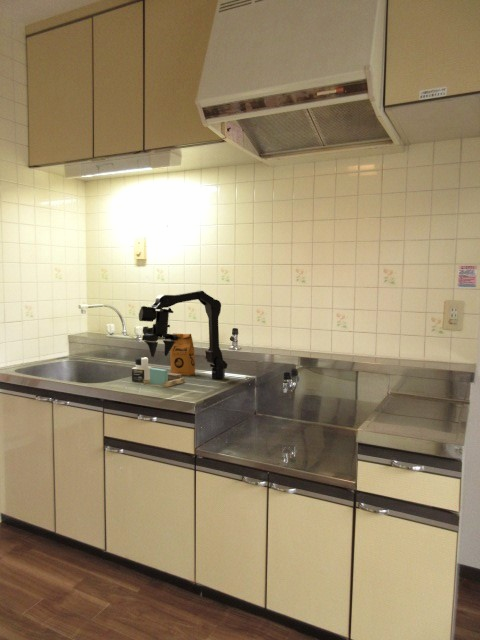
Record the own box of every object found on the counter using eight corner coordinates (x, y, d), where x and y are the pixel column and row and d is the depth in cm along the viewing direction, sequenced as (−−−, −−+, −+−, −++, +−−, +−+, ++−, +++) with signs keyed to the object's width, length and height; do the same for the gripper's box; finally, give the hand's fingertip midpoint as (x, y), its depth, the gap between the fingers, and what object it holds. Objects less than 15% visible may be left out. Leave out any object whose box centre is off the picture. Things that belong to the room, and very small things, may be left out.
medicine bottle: (131, 382, 222) (131, 358, 221) (140, 380, 229) (139, 355, 228) (144, 384, 219) (143, 358, 218) (152, 381, 226) (152, 356, 225)
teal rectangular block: (153, 382, 217) (153, 368, 217) (167, 385, 212) (167, 370, 211) (150, 383, 215) (149, 368, 215) (164, 386, 210) (164, 370, 209)
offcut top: (167, 376, 224) (167, 372, 223) (181, 378, 219) (180, 374, 219) (162, 377, 221) (162, 373, 220) (176, 379, 216) (176, 375, 216)
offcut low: (166, 379, 224) (166, 376, 224) (180, 381, 219) (180, 378, 219) (161, 381, 221) (161, 377, 221) (175, 383, 216) (175, 379, 216)
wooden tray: (164, 381, 226) (164, 375, 226) (184, 384, 219) (184, 377, 218) (144, 386, 215) (144, 379, 215) (164, 389, 207) (164, 382, 207)
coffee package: (188, 378, 232) (188, 334, 231) (167, 376, 237) (167, 333, 236) (198, 374, 242) (198, 332, 240) (177, 373, 247) (177, 332, 245)
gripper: (161, 321, 224) (159, 353, 224) (134, 320, 208) (131, 355, 208) (179, 323, 218) (177, 356, 218) (153, 322, 202) (150, 358, 202)
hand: (159, 356), depth 212 cm, fingers open, 9 cm apart
